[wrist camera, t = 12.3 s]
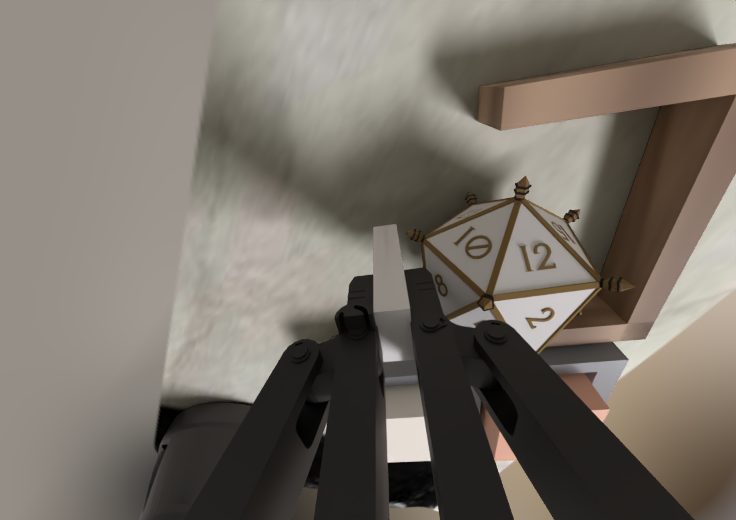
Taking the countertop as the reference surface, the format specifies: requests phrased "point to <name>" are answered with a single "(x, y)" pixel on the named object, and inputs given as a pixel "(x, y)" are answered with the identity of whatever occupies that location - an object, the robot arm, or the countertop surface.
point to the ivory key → (405, 425)
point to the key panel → (590, 359)
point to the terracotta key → (580, 388)
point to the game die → (512, 267)
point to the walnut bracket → (642, 169)
